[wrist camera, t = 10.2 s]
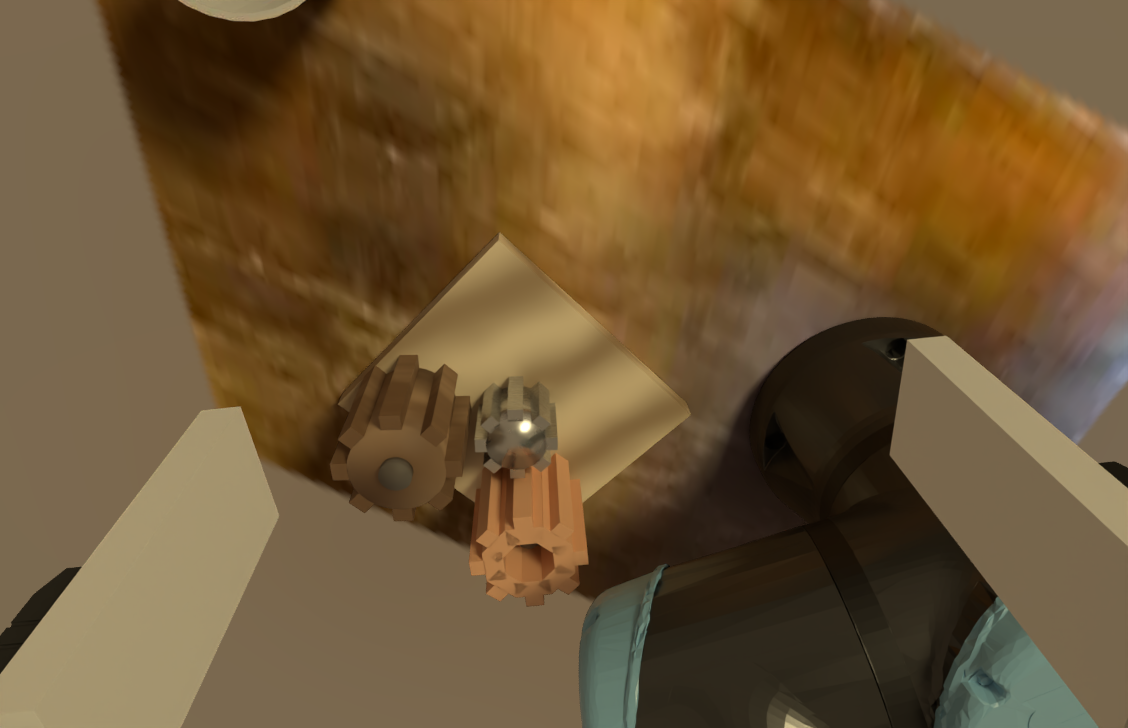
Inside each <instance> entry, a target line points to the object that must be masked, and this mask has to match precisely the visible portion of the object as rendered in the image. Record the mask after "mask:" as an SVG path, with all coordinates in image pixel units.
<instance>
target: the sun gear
mask: <svg viewBox="0 0 1128 728" xmlns="http://www.w3.org/2000/svg"><path fill="white" fill-rule="evenodd" d="M551 450H558V436H557V421H556V405H555V403H550V401H549V390H548V389H547V388H546V387H545V386H544V385H542V384H541V383H540V382H537V383H536V384H535V385H534V386H533V387H532V388H529V387H526V386H524V384H523V376H509V384H508V387H505V388H503V389H501V388H500V387H499V386H498V385H496V384H495V383H493V384H491V385H490V386H489V387H488V388H487V389H486V390H485V391H484V397H483V404H481V405H479V406H478V414H477V423H476V432H475V452H484V461H483V466H485V467H486V468H487V469H489V470H490V471H491V472H493V473H495V472H497V471H498V470H499V469H500V468H501V467H504V468H507V469H510V479H513V478H525V469H526V468H529V467H531V466H533V467H534V468H536V469H537V470H538V471H540V472H542V471H543V470H544V469H545V468H547V467H548V466H549V465H550V464H551Z"/></svg>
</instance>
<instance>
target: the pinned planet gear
mask: <svg viewBox="0 0 1128 728" xmlns="http://www.w3.org/2000/svg"><path fill="white" fill-rule="evenodd" d="M457 377H458V374H457V373H456V372H455V371H453V370H452V369H451V368H449V367H448V366H447V365H446V364H444V365H442V366H441V367H440V368H439V369H438V370H437V371H436V372H435V373H434V372H432V371H429V370H427V369H423V368H419V361H418V355H400V356H399V359H398V362H397V365H396V367H395V370H394V371H391V372H389V373H388V374H386V373H385V372H384V371H382V370H381V369H380V368H378V367H377V366H376V365H375V366H374V367H373V368H372V369H371V370H370V371H369V372H368V373H367V374H366V375H365V376H364V378H363V380H362V383H361V385H360V387H359V390H358V392H357V395H356V397H355V399H354V402H353V404H352V407H351V409H350V411H349V414H348V416H347V419H346V421H345V423H344V426H343V428H342V430H341V433H340V435H339V438H338V440H339V443H338V446H337V448H336V450H335V453H334V455H333V458H332V460H331V463H330V468H331V473H332V478H333V480H350V482H351V484H352V485H353V487H354V489H353V492H352V495H351V498H350V501H349V503H350V504H352V505H353V506H355V507H356V508H358V509H359V510H361V511H362V512H364V513H365V512H366V511H368V510H369V509H370V508H371V507H372V506H373V505H374V504H376V505H379V506H382V507H385V508H390V509H392V512H393V518H394V521H413V520H414V515H415V510H416V507H418V506H421V505H423V504H426V503H427V502H428V503H429V504H431V505H432V506H433V507H435V508H436V509H438V510H439V511H440V510H442V509H443V508H444V507H445V506H446V505H447V504H448V503H449V502H451V501H452V500H453V494H454V487H455V480H456V477H462V476H463V468H464V460H465V453H466V445H467V438H468V430H469V423H470V415H471V402H470V396H455V388H456V383H457Z"/></svg>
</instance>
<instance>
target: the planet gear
mask: <svg viewBox="0 0 1128 728" xmlns="http://www.w3.org/2000/svg"><path fill="white" fill-rule="evenodd" d="M534 543H537V544H538V545H537V546H536V547H534V548H532V549H525V548H522V547H521V546H520V545H524V544H534ZM587 564H589V563H588V552H587V543H586V533H585V524H584V514H583V505H582V495H581V486H580V479H573V480H570V475H569V463H568V460H566V459H565V458H563V457H561V456H560V455H558V454H557V453H555V454H554V455H553V456H552V457H551V464H550V465H549V466H548V467H547V468H545V469H544V470H543V471H542V472H540V471H538V470H537V469H536V468H534V467H533V466H531V467H529V468H526V469H525V478H513V479H510V469H507V468H504V467H501V468H500V469H499V470H498V471H497V472H495V473H493V472H491V471H490V470H489V469H487V468H486V467H484V468H483V470H482V481H481V489H476V497H475V507H474V517H473V526H472V536H471V546H470V556H469V565H470V570H471V575H472V576H475V575H485V574H486V579H487V587H486V594H488V595H489V596H491V597H493V598H495V599H496V600H498V601H501V600H502V599H503V598H504V597H505V596H507V594H510V595H512V596H514V597H525V599H526V605H527V606H538V605H544V595H548V594H553V593H554V592H555V591H556V590H557V589H559V590H561V591H563V592H564V593H566V594H568V595H569V594H570V593H571V592H572V591H573V590H574V589H575V588H577V587H578V586H579V585H580V580H579V568H578V565H587Z"/></svg>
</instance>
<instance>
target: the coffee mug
mask: <svg viewBox="0 0 1128 728" xmlns="http://www.w3.org/2000/svg"><path fill="white" fill-rule="evenodd" d="M178 1H180V2H181V3H183V4H184V5H186V6H188V7H190V8H193V9H195V10H197V11H199V12H202V13H204V14H206V15H209V16H213V17H217V18H221V19H226V20H230V21H254V22H255V21H260V20H265V19H270V18H275V17H278V16H280V15H282V14H284V13H286V12H289V11H291V10H293V9H295V8H297V7H298V6H300V5H301V4H303V3H305V2H306V1H308V0H178Z"/></svg>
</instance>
